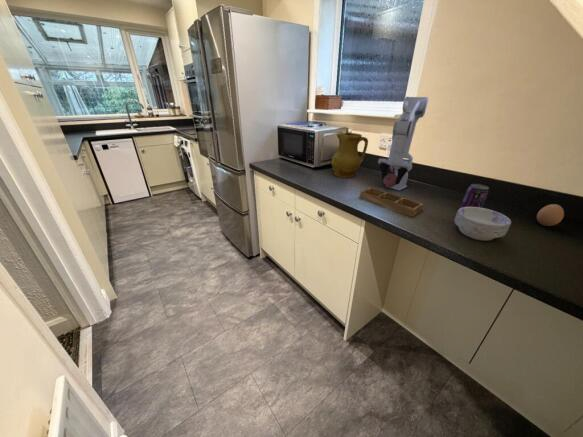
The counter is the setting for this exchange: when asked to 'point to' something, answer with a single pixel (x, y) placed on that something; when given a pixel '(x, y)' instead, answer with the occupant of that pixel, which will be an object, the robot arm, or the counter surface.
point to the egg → (550, 215)
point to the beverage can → (475, 196)
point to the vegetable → (390, 179)
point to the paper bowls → (481, 223)
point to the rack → (391, 201)
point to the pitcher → (348, 154)
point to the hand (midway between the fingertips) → (390, 181)
